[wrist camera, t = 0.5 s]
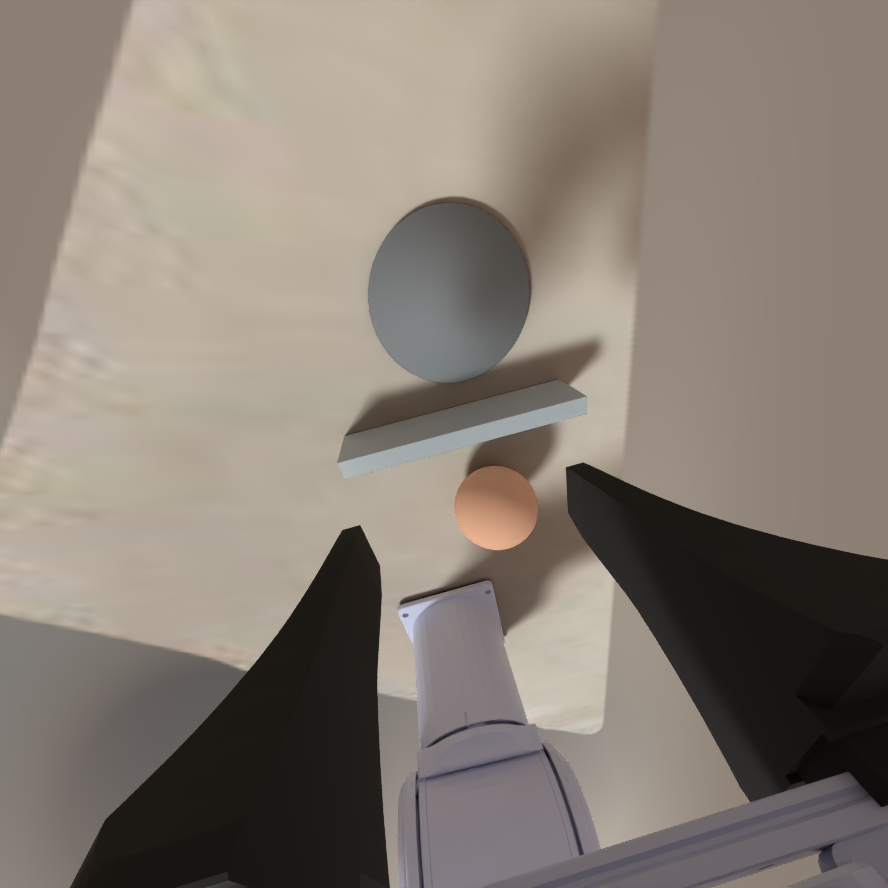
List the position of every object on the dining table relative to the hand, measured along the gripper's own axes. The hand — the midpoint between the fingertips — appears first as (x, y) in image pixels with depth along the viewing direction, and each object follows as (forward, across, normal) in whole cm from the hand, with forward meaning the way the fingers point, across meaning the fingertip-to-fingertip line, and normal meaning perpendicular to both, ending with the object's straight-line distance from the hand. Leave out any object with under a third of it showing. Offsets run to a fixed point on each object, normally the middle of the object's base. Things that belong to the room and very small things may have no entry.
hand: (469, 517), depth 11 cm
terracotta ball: (+9, -2, +6) cm, 11 cm away
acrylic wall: (+9, -1, 0) cm, 9 cm away
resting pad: (+9, -2, -6) cm, 11 cm away
